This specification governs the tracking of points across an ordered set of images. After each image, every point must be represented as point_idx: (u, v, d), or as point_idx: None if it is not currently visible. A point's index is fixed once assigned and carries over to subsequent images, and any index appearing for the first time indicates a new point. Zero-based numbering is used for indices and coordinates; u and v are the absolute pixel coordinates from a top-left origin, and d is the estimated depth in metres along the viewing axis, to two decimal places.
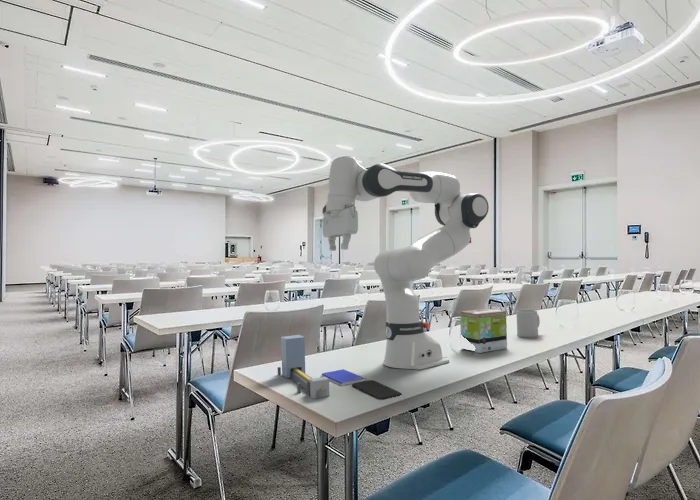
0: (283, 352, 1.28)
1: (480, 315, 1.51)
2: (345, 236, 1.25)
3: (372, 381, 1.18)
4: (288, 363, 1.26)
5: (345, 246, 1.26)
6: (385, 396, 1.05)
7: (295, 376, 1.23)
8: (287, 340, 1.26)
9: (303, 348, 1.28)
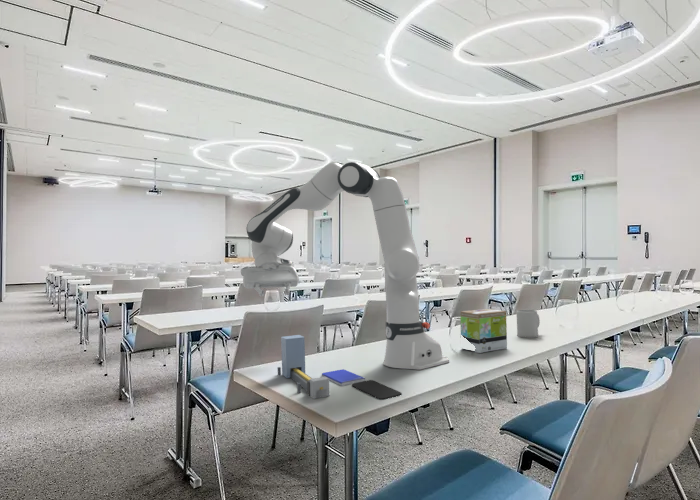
0: (283, 352, 1.28)
1: (480, 315, 1.51)
2: None
3: (372, 381, 1.18)
4: (288, 363, 1.26)
5: (259, 293, 1.45)
6: (385, 396, 1.05)
7: (295, 376, 1.23)
8: (287, 340, 1.26)
9: (303, 348, 1.28)
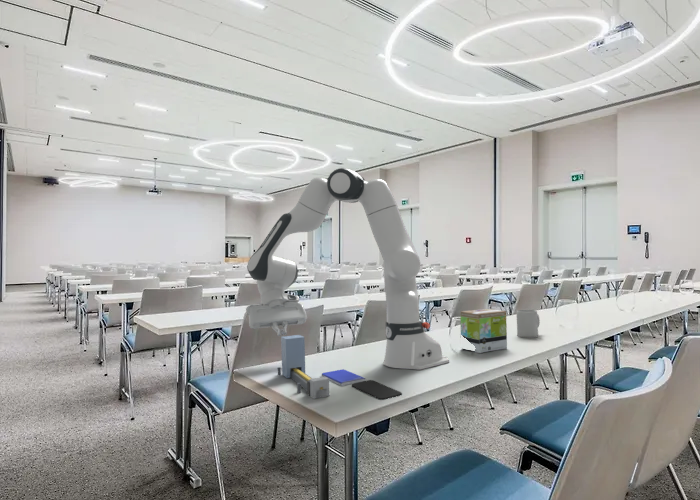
0: (283, 352, 1.28)
1: (480, 315, 1.51)
2: (272, 327, 1.42)
3: (372, 381, 1.18)
4: (288, 363, 1.26)
5: (277, 332, 1.40)
6: (385, 396, 1.05)
7: (295, 376, 1.23)
8: (287, 340, 1.26)
9: (303, 348, 1.28)
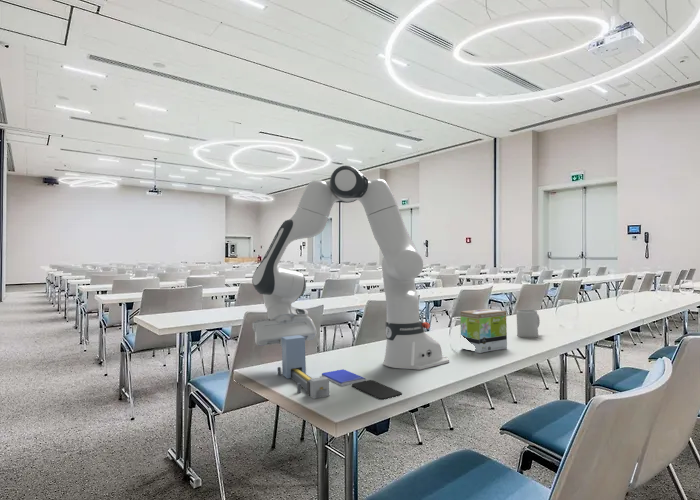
0: (283, 352, 1.28)
1: (480, 315, 1.51)
2: (280, 344, 1.34)
3: (371, 381, 1.18)
4: (288, 363, 1.26)
5: None
6: (386, 396, 1.06)
7: (295, 376, 1.23)
8: (287, 340, 1.26)
9: (303, 348, 1.28)
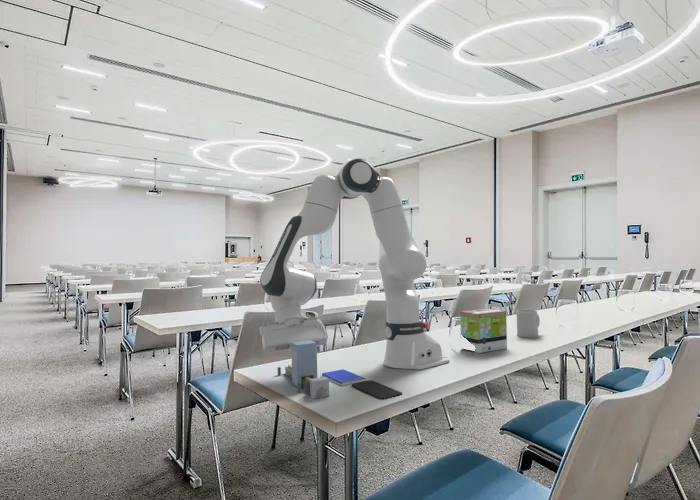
0: (293, 359, 1.19)
1: (480, 315, 1.51)
2: (289, 350, 1.24)
3: (371, 381, 1.18)
4: (299, 371, 1.16)
5: None
6: (386, 396, 1.06)
7: None
8: (298, 346, 1.16)
9: (315, 355, 1.19)
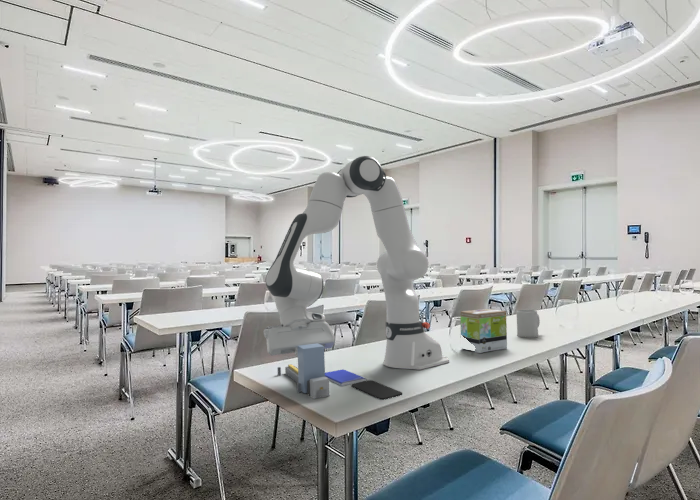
0: (300, 363, 1.13)
1: (480, 315, 1.51)
2: (295, 353, 1.19)
3: (371, 381, 1.18)
4: (306, 376, 1.11)
5: None
6: (386, 396, 1.06)
7: (295, 376, 1.23)
8: (305, 350, 1.11)
9: (323, 359, 1.13)
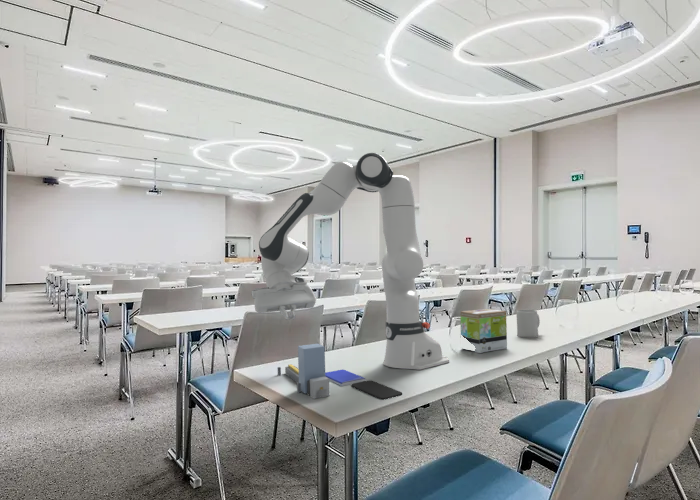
0: (300, 363, 1.13)
1: (480, 315, 1.51)
2: (280, 311, 1.34)
3: (371, 381, 1.18)
4: (306, 376, 1.11)
5: (285, 316, 1.32)
6: (386, 396, 1.06)
7: (295, 376, 1.23)
8: (305, 350, 1.11)
9: (323, 359, 1.13)
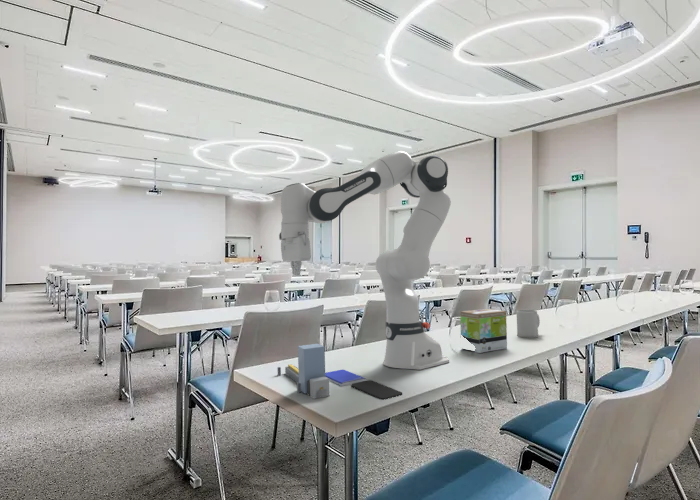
0: (300, 363, 1.13)
1: (480, 315, 1.51)
2: (296, 263, 1.32)
3: (371, 381, 1.18)
4: (306, 376, 1.11)
5: (297, 272, 1.34)
6: (387, 396, 1.06)
7: (295, 376, 1.23)
8: (305, 350, 1.11)
9: (323, 359, 1.13)
